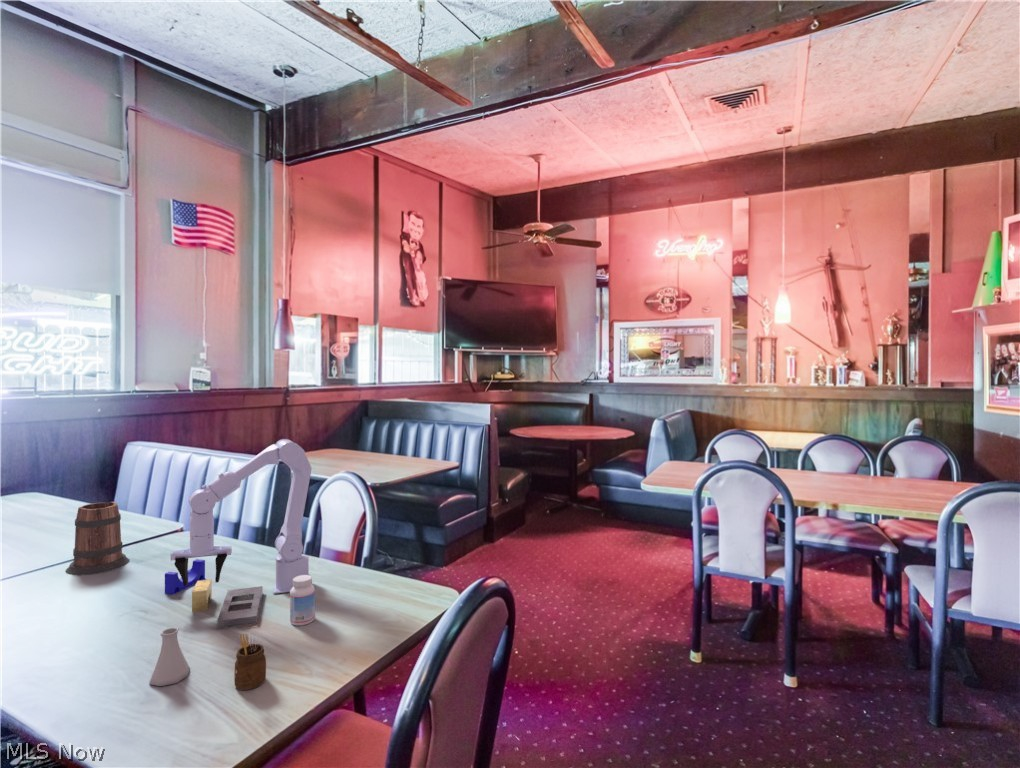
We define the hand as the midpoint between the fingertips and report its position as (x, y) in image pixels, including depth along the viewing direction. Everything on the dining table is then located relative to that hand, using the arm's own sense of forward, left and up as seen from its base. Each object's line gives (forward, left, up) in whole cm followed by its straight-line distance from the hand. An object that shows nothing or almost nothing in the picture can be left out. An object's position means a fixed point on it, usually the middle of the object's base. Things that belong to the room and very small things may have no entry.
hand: (201, 582), depth 148 cm
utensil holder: (-16, +45, -6) cm, 48 cm away
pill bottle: (-26, +19, -6) cm, 33 cm away
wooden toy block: (0, 0, -6) cm, 6 cm away
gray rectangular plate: (-11, +7, -6) cm, 14 cm away
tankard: (+39, -47, -6) cm, 61 cm away
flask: (0, +37, -6) cm, 38 cm away
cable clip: (+8, -17, -7) cm, 20 cm away
